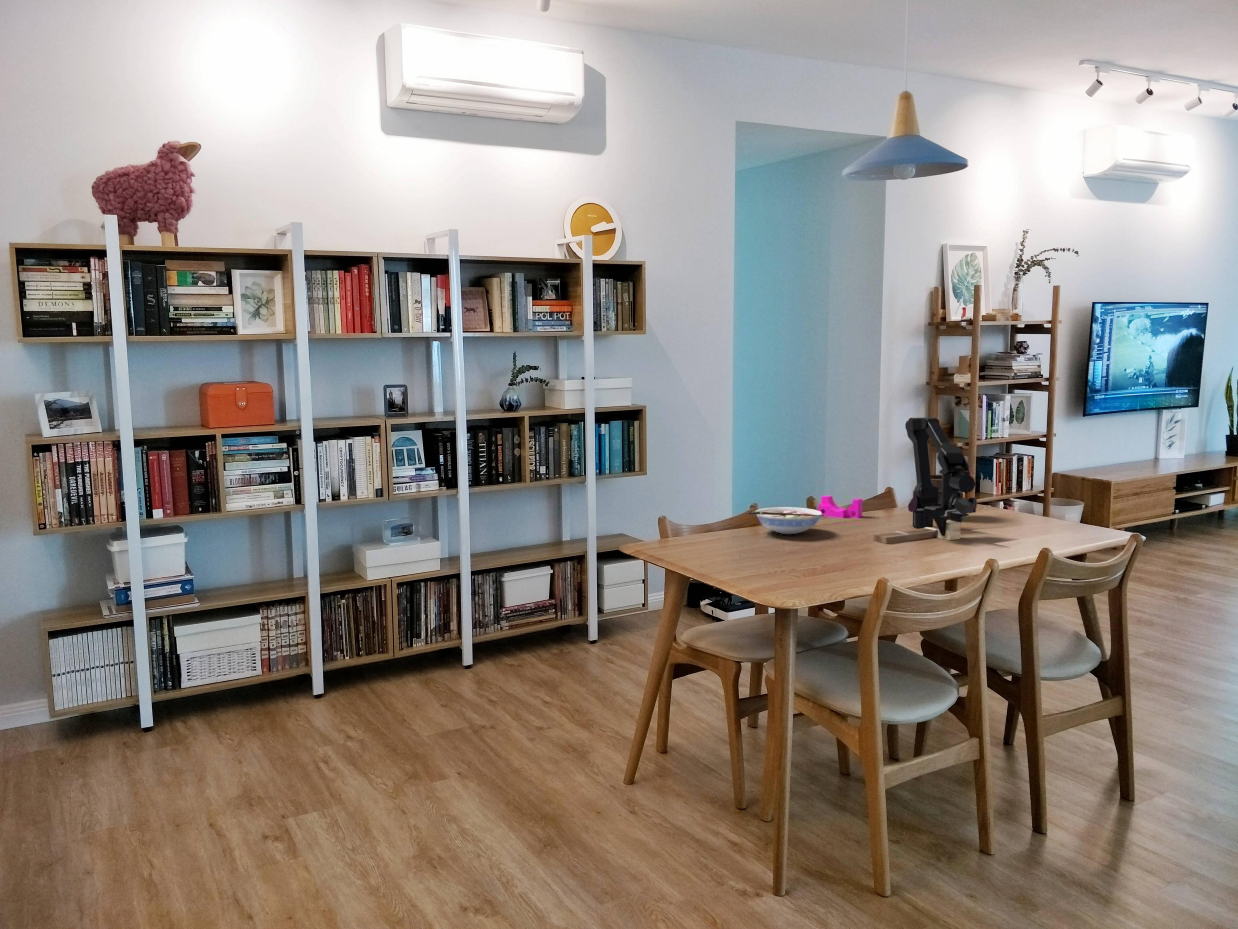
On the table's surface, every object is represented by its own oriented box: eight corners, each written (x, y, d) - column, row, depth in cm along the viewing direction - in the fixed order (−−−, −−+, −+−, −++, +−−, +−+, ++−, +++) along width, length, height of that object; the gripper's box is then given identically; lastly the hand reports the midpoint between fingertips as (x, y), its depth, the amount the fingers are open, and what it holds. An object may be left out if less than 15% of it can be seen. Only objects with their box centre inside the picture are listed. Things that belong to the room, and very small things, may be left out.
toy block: (817, 516, 368) (818, 497, 367) (825, 514, 372) (825, 495, 372) (854, 521, 358) (855, 500, 357) (862, 518, 363) (862, 498, 362)
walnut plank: (872, 540, 320) (873, 534, 320) (934, 532, 334) (934, 526, 333) (886, 543, 315) (886, 537, 315) (947, 535, 328) (947, 528, 328)
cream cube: (935, 537, 325) (935, 521, 324) (945, 535, 327) (946, 519, 327) (949, 540, 319) (950, 523, 319) (960, 538, 322) (960, 522, 321)
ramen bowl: (827, 529, 342) (827, 506, 341) (822, 541, 320) (823, 516, 319) (756, 525, 349) (756, 503, 348) (747, 537, 327) (747, 513, 326)
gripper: (949, 493, 309) (947, 542, 311) (990, 489, 318) (988, 536, 320) (923, 489, 319) (921, 536, 321) (963, 485, 328) (961, 531, 330)
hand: (948, 535), depth 323 cm, fingers closed on cream cube, 5 cm apart
